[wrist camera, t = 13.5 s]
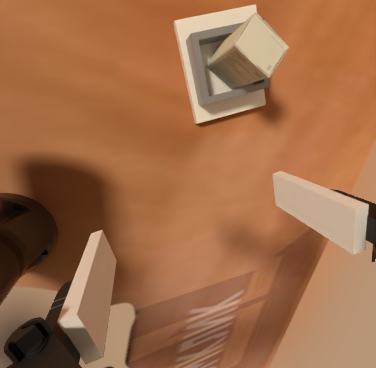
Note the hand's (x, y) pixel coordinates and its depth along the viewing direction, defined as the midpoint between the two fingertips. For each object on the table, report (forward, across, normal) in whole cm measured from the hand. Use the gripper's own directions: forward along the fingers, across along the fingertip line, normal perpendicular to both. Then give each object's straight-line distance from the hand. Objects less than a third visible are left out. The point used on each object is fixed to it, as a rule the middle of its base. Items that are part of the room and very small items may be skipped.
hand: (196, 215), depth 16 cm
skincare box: (+25, +15, +12) cm, 32 cm away
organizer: (+27, +15, +12) cm, 33 cm away
